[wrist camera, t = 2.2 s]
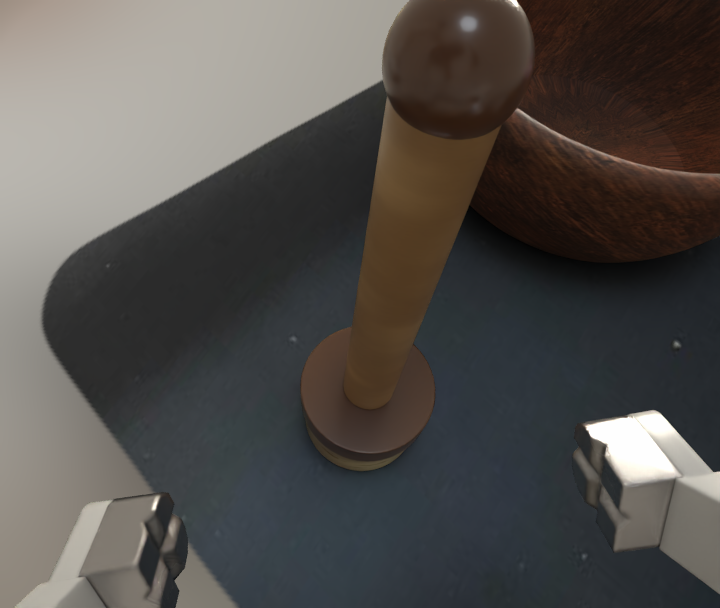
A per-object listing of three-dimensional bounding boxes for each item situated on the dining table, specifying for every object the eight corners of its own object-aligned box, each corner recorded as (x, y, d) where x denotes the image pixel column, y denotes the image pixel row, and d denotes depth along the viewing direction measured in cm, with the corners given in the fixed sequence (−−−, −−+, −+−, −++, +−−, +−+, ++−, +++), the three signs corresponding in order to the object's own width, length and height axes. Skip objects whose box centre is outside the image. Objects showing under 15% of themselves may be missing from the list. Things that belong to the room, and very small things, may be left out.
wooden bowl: (395, 47, 45) (416, -90, 36) (668, 65, 47) (752, -61, 38) (416, 293, 32) (455, 177, 23) (785, 304, 34) (952, 201, 25)
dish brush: (281, 445, 27) (203, 33, 7) (330, 344, 30) (367, -135, 10) (395, 495, 26) (652, 185, 6) (433, 386, 29) (683, -46, 10)
